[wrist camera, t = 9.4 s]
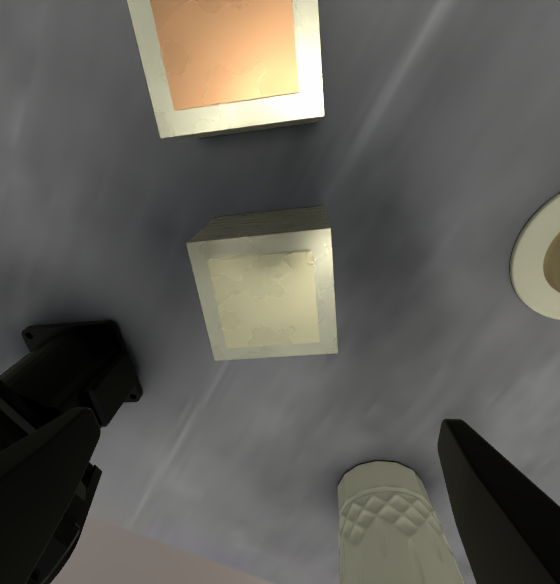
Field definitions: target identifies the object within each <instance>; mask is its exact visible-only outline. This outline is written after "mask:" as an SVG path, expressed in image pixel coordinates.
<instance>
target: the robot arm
mask: <svg viewBox="0 0 560 584" xmlns="http://www.w3.org/2000/svg"><path fill="white" fill-rule="evenodd" d="M107 327H109V328H110V329H111V330H109V329H108V328H107ZM31 334H32V335H31ZM22 337H23V339H24V340H25V342H26V344H27V346H28V348H29V350H30V353H28V354H27V355H26V356H25V357H23V358H22V359H21V360H20V361H18V362H17V363H16V364H14V365H13V366H12V367H11V368H9V369H8V370H7V371H5V372H4V373H3V374H2V375H0V584H50V583H51V582H52V580H53V579H54V578H55V577H56V576H57V574H58V573H59V572H60V570H61V569H62V568H63V566H64V565H65V563H66V562H67V560H68V559H69V558H70V556H71V554H72V552H73V550H74V549H75V547H76V544H77V542H78V540H79V537H80V535H81V532H82V529H83V526H84V523H85V520H86V517H87V514H88V511H89V509H90V506H91V503H92V500H93V497H94V494H95V491H96V488H97V485H98V482H99V479H100V477H101V474H102V471H101V470H100V469H99V468H98V467H97V466H96V465H94V466H93V465H92V464H91V463H90V462H89V461H90V458H91V456H92V454H93V452H94V449H95V447H96V445H97V443H98V440H99V438H100V428H101V427H106V426H107V425H108V424H109V422H110V421H111V420H112V418H113V417H114V415H115V414H116V412H117V411H118V409H119V408H120V406H121V405H122V403H124V402H137V401H139V400H140V398H141V396H142V390H141V388H140V385H139V382H138V378H137V375H136V373H135V370H134V367H133V365H132V362H131V359H130V356H129V354H128V352H127V350H126V347H125V344H124V342H123V339H122V336H121V334H120V331H119V328H118V326H117V324H116V323H115V322H113V321H111V320H104V321H91V322H78V323H65V324H52V325H39V326H29V327H27V328H26V329H24V330H23V331H22ZM134 394H135V395H134ZM438 454H439V458H440V462H441V466H442V470H443V474H444V478H445V483H446V487H447V491H448V495H449V499H450V503H451V507H452V511H453V515H454V519H455V523H456V526H457V529H458V532H459V535H460V538H461V541H462V543H463V546H464V549H465V552H466V555H467V558H468V560H469V563H470V566H471V569H472V572H473V575H474V577H475V580H476V583H477V584H560V506H559V505H557V504H556V503H555V502H554V501H553V500H552V499H551V498H550V497H548V496H547V495H546V494H545V493H544V492H543V491H542V490H541V489H539V488H538V487H537V486H536V485H535V484H534V483H533V482H532V481H531V480H529V479H528V478H527V477H526V476H525V475H524V474H523V473H522V472H520V471H519V470H518V469H517V468H516V467H515V466H514V465H513V464H512V463H510V462H509V461H508V460H507V459H506V458H505V457H504V456H503V455H501V454H500V453H499V452H498V451H497V450H496V449H495V448H494V447H492V446H491V445H490V444H489V443H488V442H487V441H486V440H485V439H484V438H482V437H481V436H480V435H479V434H478V433H477V432H476V431H475V430H473V429H472V428H471V427H470V426H469V425H468V424H467V423H466V422H464V421H463V420H460V419H444V420H443V421H442V424H441V429H440V434H439V439H438Z"/></svg>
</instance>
